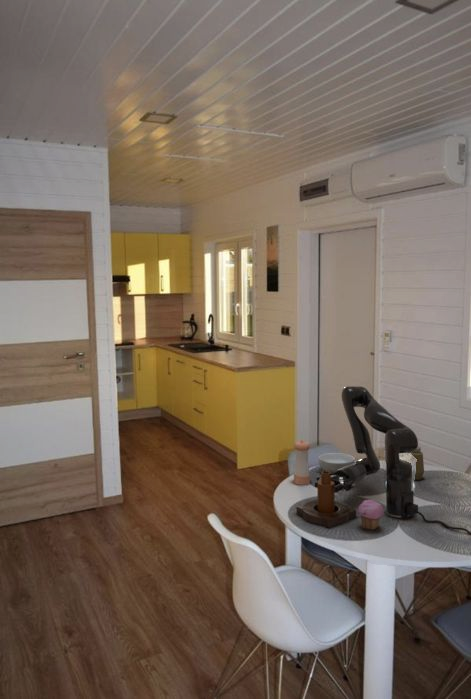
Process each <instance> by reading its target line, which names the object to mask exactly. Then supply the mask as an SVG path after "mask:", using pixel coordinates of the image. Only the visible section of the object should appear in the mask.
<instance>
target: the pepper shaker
mask: <svg viewBox="0 0 471 699" xmlns="http://www.w3.org/2000/svg"><path fill="white" fill-rule="evenodd" d="M310 447H311V446H310V443H309V442H307V441H304V440H303V439H300V440H299V441H297V442H294V444H293V448H294V450H295V460H294V473H293V483H294V484H296V485H299V486H300V485H301V486H303V485H304V486H305V485H309V484H310V483H311V473H310V463H309V449H310Z"/></svg>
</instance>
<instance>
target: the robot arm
mask: <svg viewBox="0 0 471 699" xmlns="http://www.w3.org/2000/svg"><path fill="white" fill-rule="evenodd" d="M341 402H342V405H343V408H344V411H345V415H346V418H347V421H348V424H349V427H350V429H351V432H352V437H353V443H354V448H355V451H356V453H357V454H360V455H362V454H363V455H365V457H364V458H360V459H358V460H355V462H354V463H353V464H351V465H349V466H346V467H343V468H341V469H339V470H337V471H336V472H335V473H334V474H331V481H333V482H334V483H335V487H334V492H335V493H338V492H340V491H346V492H349V491H352V489H354V488H355V484H356V483H357V482H359V481H362V480H363V479H364V478H365V477H366V476H370V475H374V474H376V473H379V471H380V469H381V462H380V460H379V458H378V456H377V454H376V452H375V449H374V448H373V444H372V439H371V434H370V431H369V429H368V428H367V426H366V425H365V424H364V422H363V421H362V420H361V419H360V417H359V416H358V414H357V412H356V410H355V408H363V409H364V411H363V418H364V420H365V421H366V423H367V424H368V425H369V426H370V427H371V428H372V429H374V430H375V431H377V432H378V433H382V434H385V435H384V453H385V456H384V457H385V466H386V479H385V480H386V485H385V486H386V488H385V489H386V490H385V491H386V492H385V503H386V504H385V514H386V515H387V516H388V517H390V518H395V519H401V520H406V519H408V518H411V517H412V516H415V515H417V514H418V515H420V516H421V517H422V520H423V521H424V522H426V523H431V524H433V523H438V524H442V525H443V526H444V527H446V528H448V529H451V530H459V531H461V530H462V531H464V532H466V533H467V534H469V535H470V536H471V531H470V530H468V529H467V528H464V527H459V526H458V527H456V526H450V525H448V524H446V523H445V522H444V521H441V520H429V519H426V518H425V515H424V514H423V513H421V512H420V511H419V504H416V503H414V498H415V497H414V493H415V492H414V490H412V480H413V479H412V465H411V463H409V462H407V460H404V459H401V458H400V454H408V453H410V452H413V451H415V450H416V449H417V447H418V446H419V440H418V437H417V434H416V433H415V431H414V430H413V429H412V428H410V427H409V426H407V425H406V424H405V423H403V422H401V421H400V420H398V419H397V418H396V417H395V416H394V415H393V414H391V412H389V410H387V409H386V408H385V407H384V406H382V405H381V404H380V403H379V402H378V401H377V399H376V398H374V396H373V395H372V394H371V392H370V391H369V390H368V389H367V388H366V387H364V386H361V385H360V386H358V385H353V386H352V385H351V386H349V385H348V386H344V387H343V388H342V390H341ZM320 480H321V475H318V476H317V477H316V481H314V487H315V488H317V482H318V481H320Z"/></svg>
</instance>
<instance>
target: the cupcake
mask: <svg viewBox="0 0 471 699" xmlns="http://www.w3.org/2000/svg"><path fill="white" fill-rule="evenodd" d="M357 509H358V511H357V512H358V514H359V516H360V520H361V527H362V528H363V529H365V530H371V531H373V530H376V529H377V528H378V527H379V524H380V520H381V517H382V516H383V515H384V507H383V505H382V504H381V503H379V502H378V501H375V500H373V499H365V500H364V501H362V503H361V504H360V505H359V506H358V508H357Z"/></svg>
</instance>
